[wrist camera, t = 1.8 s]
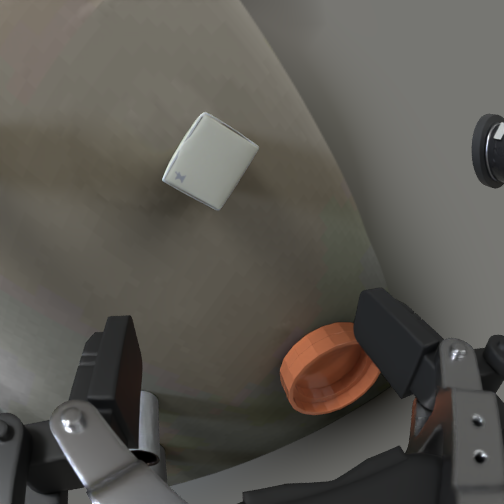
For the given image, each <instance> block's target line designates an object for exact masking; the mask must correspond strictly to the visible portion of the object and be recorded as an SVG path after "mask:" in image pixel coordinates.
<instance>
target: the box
mask: <svg viewBox="0 0 504 504" xmlns="http://www.w3.org/2000/svg"><path fill="white" fill-rule="evenodd" d="M258 150H259V147H258V145H256V144H255V143H253V142H252V141H251V140H249V139H248V138H246V137H245V136H244V135H242V134H241V133H239V132H238V131H236V130H235V129H233V128H232V127H230V126H228V125H227V124H225V123H224V122H222V121H221V120H219V119H217V118H216V117H214V116H212V115H211V114H209V113H207V112H204V113H202V114H201V115H200V116H199V117H198V118H197V120H196V121H195V122H194V123H193V125H192V126H191V128H190V129H189V131H188V132H187V134H186V135H185V137H184V138H183V140H182V141H181V143H180V145H179V146H178V148H177V150H176V152H175V153H174V155H173V157H172V159H171V160H170V162H169V164H168V166H167V168H166V171H165V173H164V176H163V179H162V180H163V182H165V183H167V184H169V185H171V186H172V187H174V188H176V189H177V190H179V191H181V192H183V193H185V194H187V195H188V196H190V197H192V198H194V199H196V200H198V201H200V202H202V203H203V204H205V205H207V206H209V207H211V208H213V209H215V210H220V209H221V208H222V206H223V205H224V203H225V202H226V200H227V199H228V197H229V196H230V194H231V193H232V191H233V189H234V188H235V186H236V185H237V183H238V182H239V180H240V179H241V177H242V175H243V174H244V172H245V170H246V169H247V167H248V166H249V164H250V163H251V161H252V159H253V158H254V156H255V154H256V153H257V151H258Z"/></svg>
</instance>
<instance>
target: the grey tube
mask: <svg viewBox="0 0 504 504" xmlns="http://www.w3.org/2000/svg"><path fill="white" fill-rule="evenodd" d="M129 450H130V451H131V452H132V453H133V454H134V456H135V457H136V458H137V459H138V460H142V461H144V462H145V463H146V464H147V465H148V466H154V465H156V464H158V463H159V462H160V444H159V403H158V399H157V397H156V396H155V395H153V394H152V393H150V392H147V391H141V397H140V417H139V449H129Z"/></svg>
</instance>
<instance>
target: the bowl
mask: <svg viewBox="0 0 504 504" xmlns="http://www.w3.org/2000/svg"><path fill="white" fill-rule="evenodd" d="M353 326H354V323H351V322H337V323H333V324H329V325H326V326H322V327H320V328H318V329H316V330H315V331H313V332H311V333H309V334H307V335H306V336H304V337H303V338H302V339H301V340H300V341H298V342H297V343H296V344H295V345H294V346H293V347H292V348H291V350H290V351H289V352H288V354H287V355H286V356H285V358H284V360H283V362H282V365H281V368H280V381H281V383H282V386H283V388H284V390H285V393H286V395H287V398H288V400H289V402H290V404H291V405H292V407H293V408H294V409H295V410H297V411H299V412H301V413H303V414H310V415H319V414H327V413H330V412H333V411H336V410H339V409H342V408H343V407H345V406H347V405H349V404H351V403H353V402H354V401H356V400H357V399H358V398H359V397H361V396H362V395H363V394H365V393H366V392H367V391H368V389H369V388H370V387H371V386H372V385H373V384H374V383H375V381H376V379H377V378H378V376H379V374H380V370H379V369H378V368H377V366H376V365H375V364H374V363H373V361H372V360H371V359H370V357H369V356H368V355H367V354H366V352H365V351H364V350H363V348H362V347H361V346H360V345H359V343H358V342H357V340H356V339H355V336H354V331H353Z"/></svg>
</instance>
